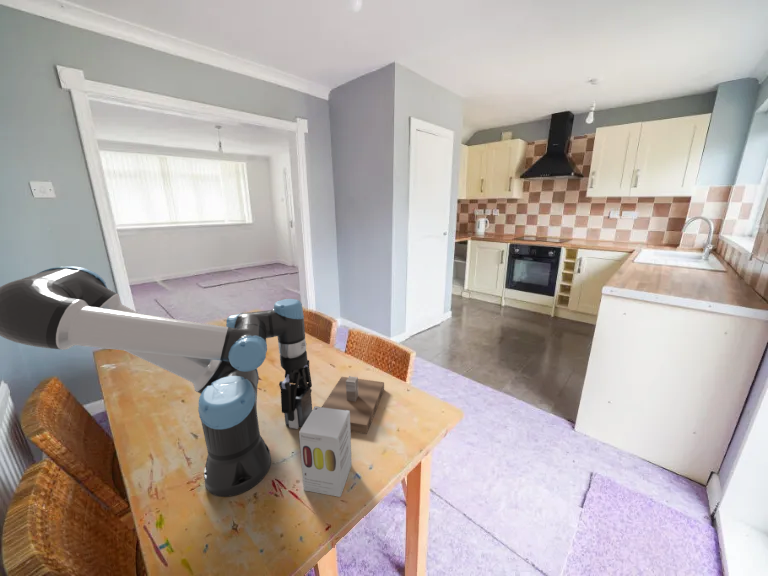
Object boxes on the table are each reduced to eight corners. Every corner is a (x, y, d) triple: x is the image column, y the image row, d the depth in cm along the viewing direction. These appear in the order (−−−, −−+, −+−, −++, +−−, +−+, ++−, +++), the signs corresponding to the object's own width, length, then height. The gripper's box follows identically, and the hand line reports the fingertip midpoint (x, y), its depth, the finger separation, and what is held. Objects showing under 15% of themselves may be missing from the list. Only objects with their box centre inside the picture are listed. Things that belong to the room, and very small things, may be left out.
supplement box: (302, 491, 72) (296, 431, 67) (317, 459, 81) (313, 404, 76) (341, 498, 70) (338, 437, 65) (352, 464, 79) (350, 409, 74)
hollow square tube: (303, 428, 92) (301, 399, 89) (285, 424, 93) (282, 396, 90) (312, 414, 97) (310, 387, 94) (295, 411, 99) (292, 384, 96)
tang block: (366, 433, 89) (366, 404, 86) (315, 424, 93) (313, 396, 90) (384, 389, 110) (384, 364, 107) (341, 383, 113) (340, 359, 110)
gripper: (287, 371, 78) (295, 445, 85) (319, 338, 97) (324, 400, 103) (261, 368, 80) (271, 440, 87) (298, 336, 98) (303, 397, 105)
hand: (300, 418), depth 95 cm, fingers open, 7 cm apart
